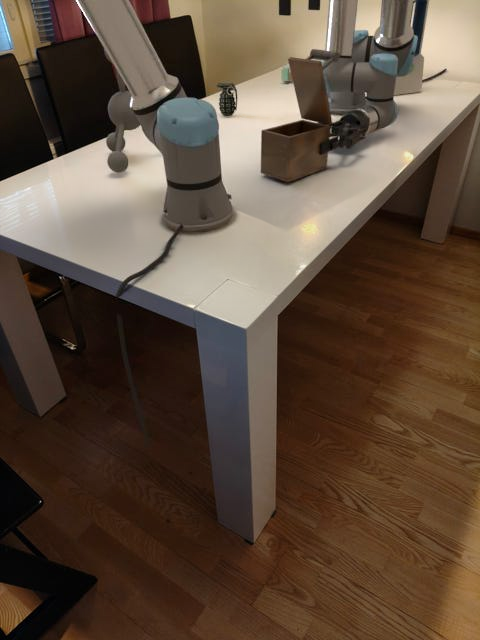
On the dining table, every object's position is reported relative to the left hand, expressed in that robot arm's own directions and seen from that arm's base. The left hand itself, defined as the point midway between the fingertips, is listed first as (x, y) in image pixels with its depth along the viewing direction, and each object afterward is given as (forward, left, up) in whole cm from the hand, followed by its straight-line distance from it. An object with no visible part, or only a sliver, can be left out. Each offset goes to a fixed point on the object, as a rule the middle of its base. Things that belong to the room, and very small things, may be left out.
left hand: (299, 12), depth 104 cm
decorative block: (+100, +36, -35) cm, 112 cm away
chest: (-1, 0, -35) cm, 35 cm away
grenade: (+39, +42, -35) cm, 67 cm away
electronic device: (+88, -6, -35) cm, 94 cm away
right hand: (+3, -1, -29) cm, 29 cm away
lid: (+4, -1, -17) cm, 17 cm away
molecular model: (-6, +44, -35) cm, 57 cm away
